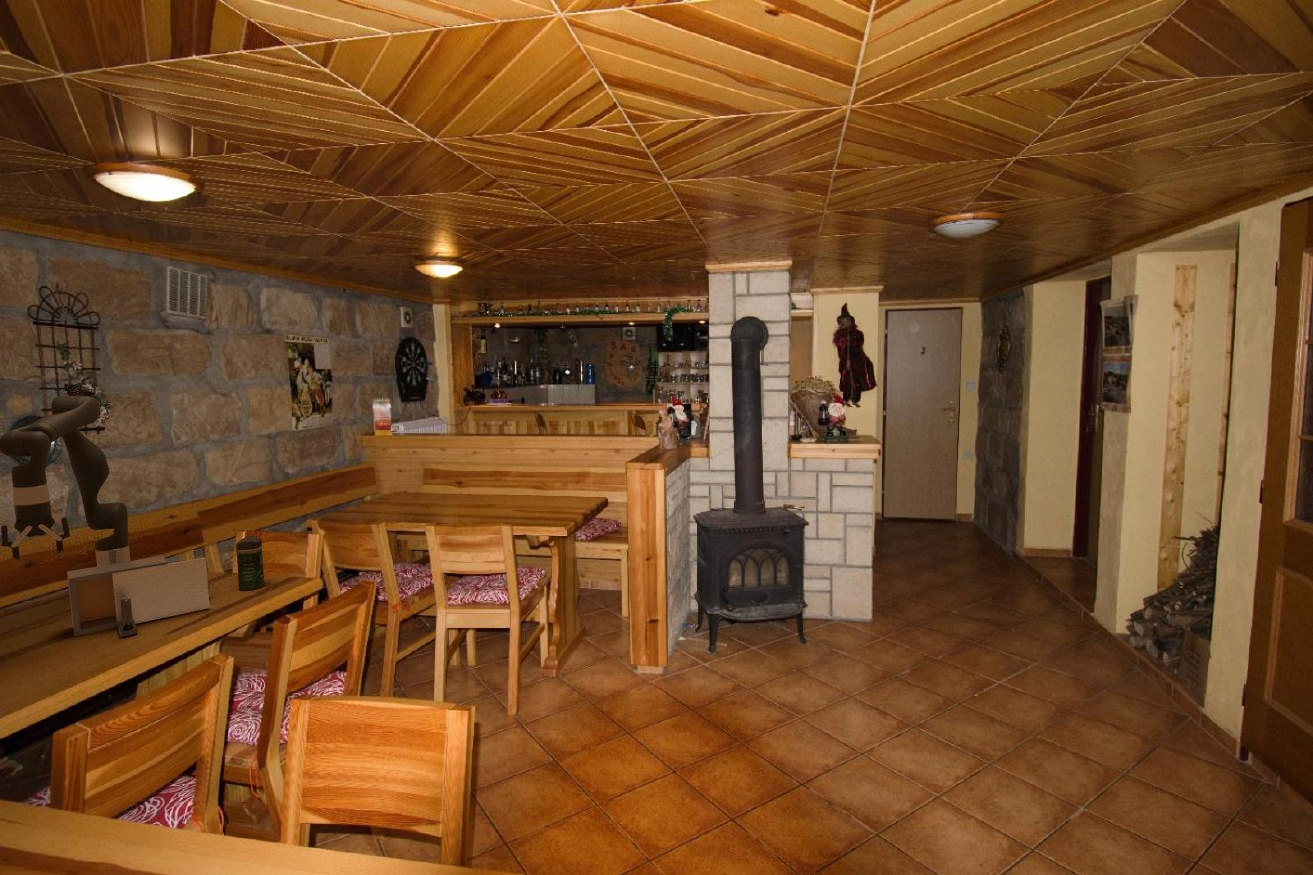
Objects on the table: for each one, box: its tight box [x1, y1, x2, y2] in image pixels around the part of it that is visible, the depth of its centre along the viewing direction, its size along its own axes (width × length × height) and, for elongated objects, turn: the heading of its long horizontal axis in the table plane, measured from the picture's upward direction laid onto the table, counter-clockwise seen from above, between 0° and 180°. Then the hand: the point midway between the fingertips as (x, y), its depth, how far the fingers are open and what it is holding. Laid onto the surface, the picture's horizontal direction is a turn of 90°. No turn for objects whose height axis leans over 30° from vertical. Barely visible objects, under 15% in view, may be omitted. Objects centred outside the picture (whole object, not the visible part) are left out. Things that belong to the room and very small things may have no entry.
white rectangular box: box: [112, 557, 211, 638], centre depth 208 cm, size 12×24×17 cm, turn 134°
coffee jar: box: [235, 535, 265, 591], centre depth 242 cm, size 10×8×19 cm
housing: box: [66, 555, 169, 637], centre depth 209 cm, size 10×24×18 cm, turn 134°
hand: (38, 556), depth 190 cm, fingers open, 8 cm apart
